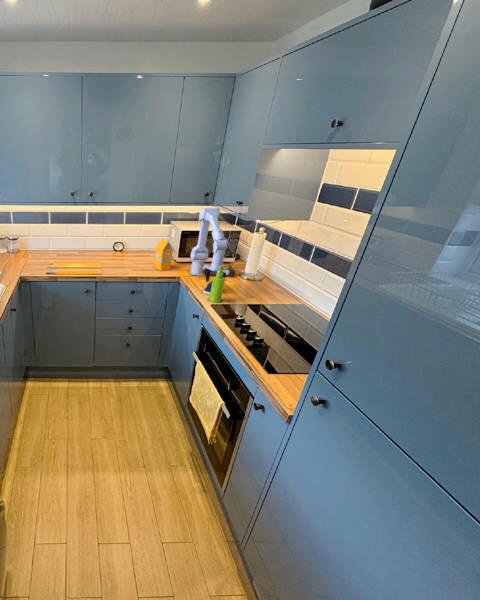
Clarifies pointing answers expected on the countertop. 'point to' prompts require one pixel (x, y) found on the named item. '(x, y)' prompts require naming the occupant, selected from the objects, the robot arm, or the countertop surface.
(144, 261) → the countertop surface
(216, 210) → the robot arm
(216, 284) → the soap dispenser
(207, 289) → the trainer
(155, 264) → the orange juice
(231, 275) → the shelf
